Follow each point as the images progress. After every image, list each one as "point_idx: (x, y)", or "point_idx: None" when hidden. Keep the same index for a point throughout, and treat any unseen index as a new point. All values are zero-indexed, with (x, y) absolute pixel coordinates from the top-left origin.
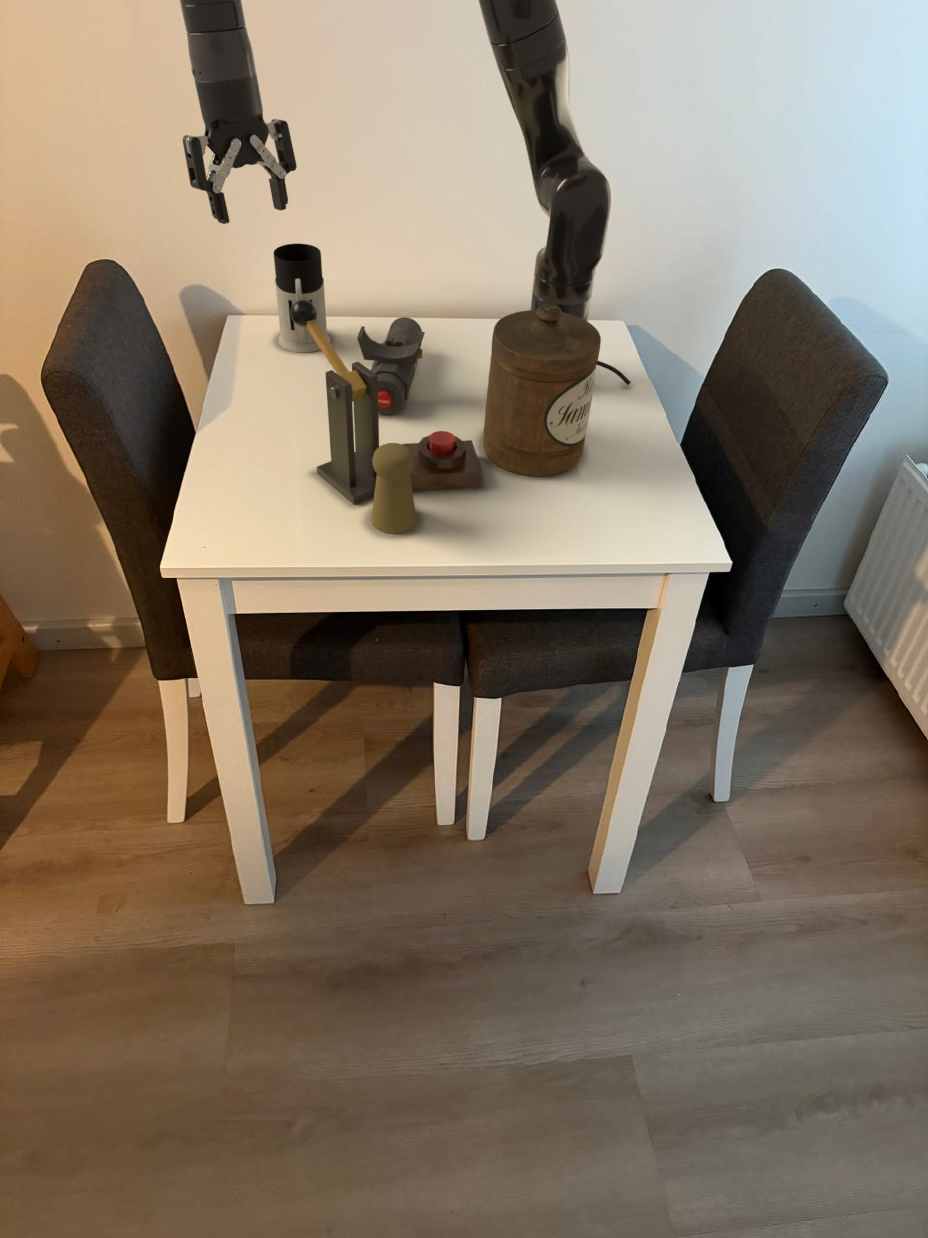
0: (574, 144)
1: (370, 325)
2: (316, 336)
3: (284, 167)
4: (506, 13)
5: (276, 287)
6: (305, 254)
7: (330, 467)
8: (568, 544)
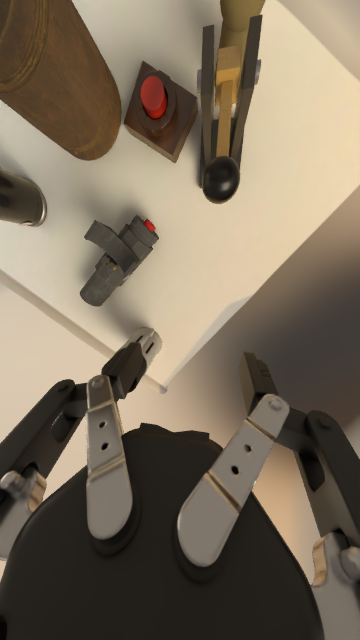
0: None
1: (104, 333)
2: (229, 139)
3: (81, 394)
4: None
5: (147, 368)
6: None
7: None
8: None
